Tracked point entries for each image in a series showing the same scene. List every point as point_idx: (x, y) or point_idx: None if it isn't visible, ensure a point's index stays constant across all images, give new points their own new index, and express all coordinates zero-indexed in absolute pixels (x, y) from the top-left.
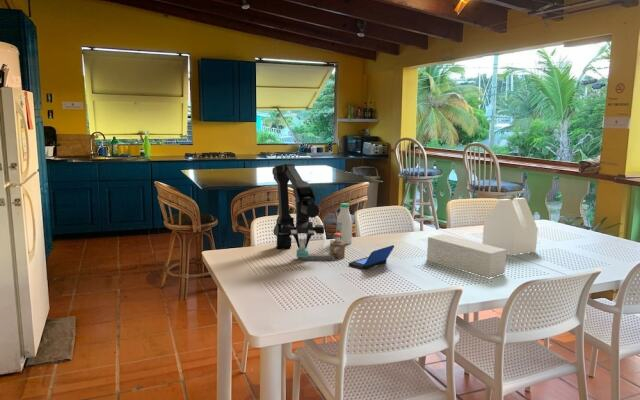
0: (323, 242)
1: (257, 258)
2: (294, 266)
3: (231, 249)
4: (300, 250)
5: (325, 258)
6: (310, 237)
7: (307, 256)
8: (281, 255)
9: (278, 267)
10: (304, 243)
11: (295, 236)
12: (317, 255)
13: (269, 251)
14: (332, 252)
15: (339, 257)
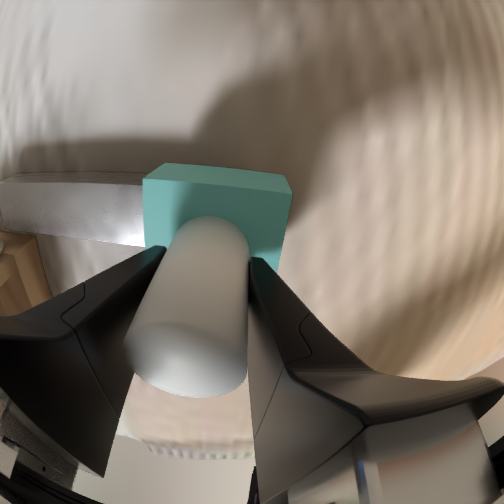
0: (128, 424)
1: (485, 262)
2: (320, 11)
3: (479, 368)
4: (236, 222)
5: (45, 176)
6: (12, 316)
7: (168, 164)
8: (358, 311)
9: (437, 35)
10: (160, 274)
11: (371, 380)
12: (82, 194)
13: (386, 368)
14: (10, 252)
15: (5, 232)
